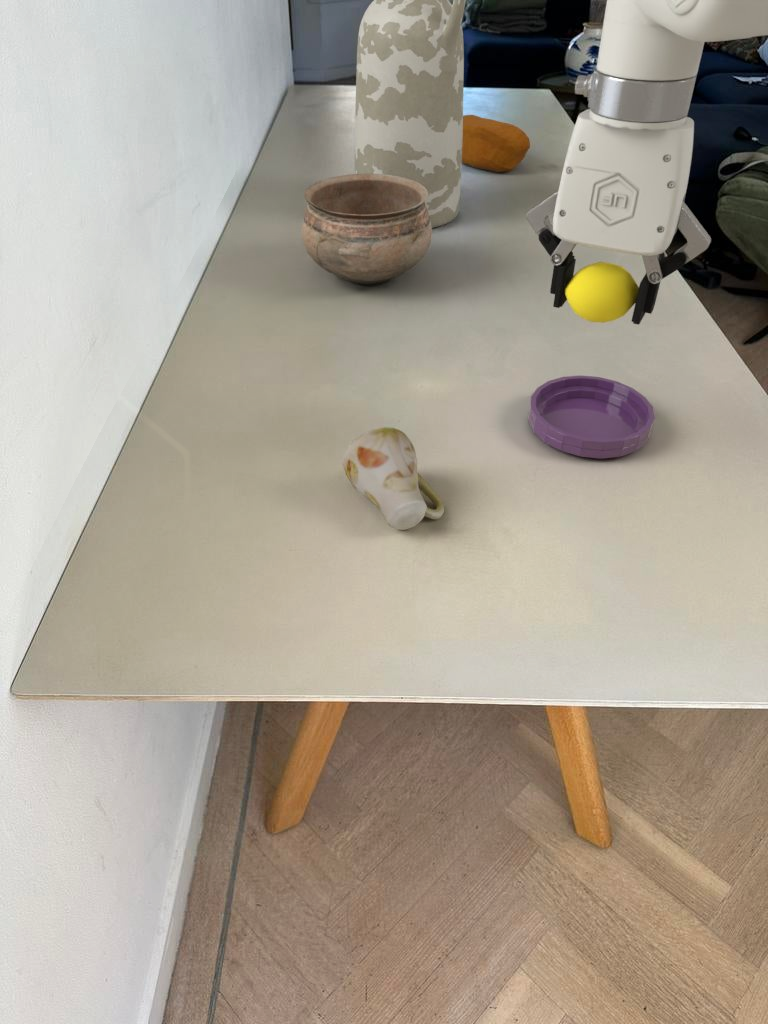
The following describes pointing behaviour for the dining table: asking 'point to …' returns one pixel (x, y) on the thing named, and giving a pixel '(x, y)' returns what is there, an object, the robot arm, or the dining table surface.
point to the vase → (412, 97)
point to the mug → (390, 477)
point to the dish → (591, 416)
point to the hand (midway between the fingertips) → (599, 308)
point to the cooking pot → (366, 226)
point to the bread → (492, 144)
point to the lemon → (601, 292)
